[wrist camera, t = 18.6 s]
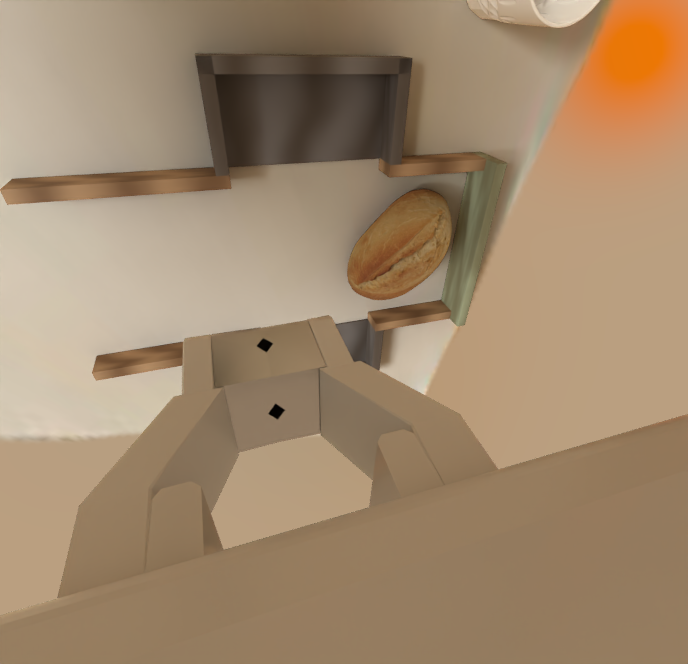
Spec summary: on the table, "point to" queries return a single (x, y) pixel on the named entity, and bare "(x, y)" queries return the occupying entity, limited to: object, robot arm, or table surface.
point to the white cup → (534, 11)
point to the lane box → (301, 147)
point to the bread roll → (401, 246)
